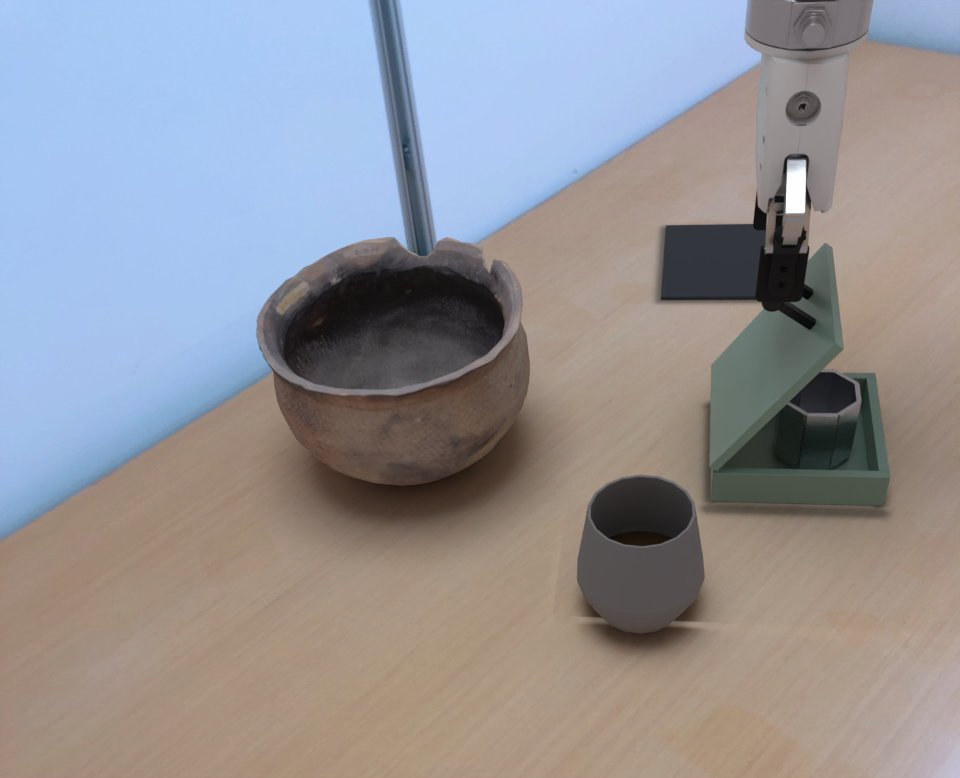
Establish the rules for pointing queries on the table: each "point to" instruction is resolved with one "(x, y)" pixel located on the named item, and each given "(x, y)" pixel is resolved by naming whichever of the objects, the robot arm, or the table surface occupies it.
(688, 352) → the table surface
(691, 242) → the mat
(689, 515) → the cup
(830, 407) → the octagonal grey canister
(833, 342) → the box lid
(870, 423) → the green tray
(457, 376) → the ceramic bowl
